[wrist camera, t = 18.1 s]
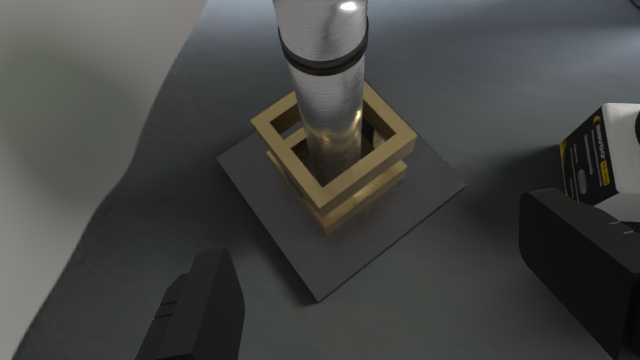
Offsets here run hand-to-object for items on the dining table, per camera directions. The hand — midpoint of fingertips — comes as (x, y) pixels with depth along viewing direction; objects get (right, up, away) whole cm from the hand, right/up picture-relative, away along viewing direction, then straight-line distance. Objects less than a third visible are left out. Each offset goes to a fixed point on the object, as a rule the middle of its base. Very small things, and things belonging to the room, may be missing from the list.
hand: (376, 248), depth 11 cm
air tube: (0, +3, +24) cm, 24 cm away
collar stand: (0, +2, +26) cm, 26 cm away
